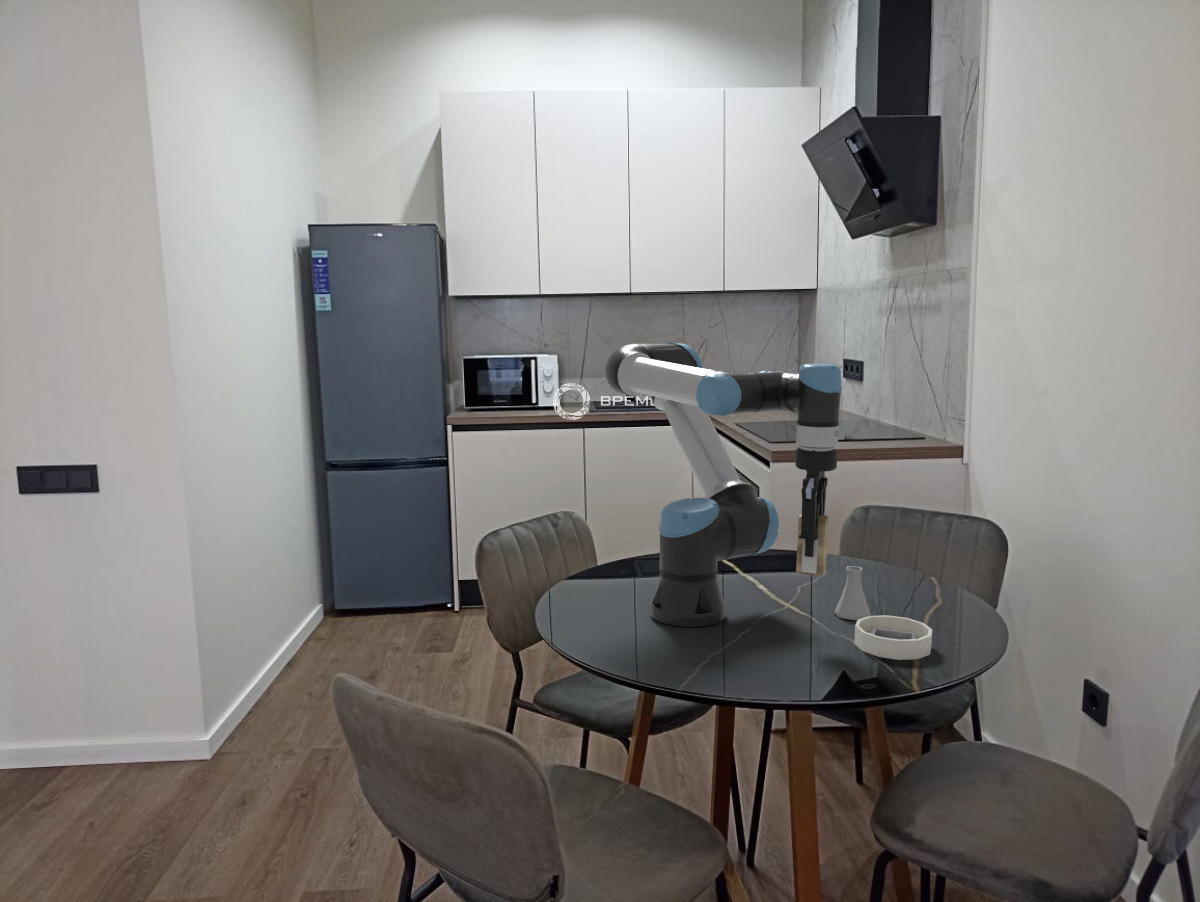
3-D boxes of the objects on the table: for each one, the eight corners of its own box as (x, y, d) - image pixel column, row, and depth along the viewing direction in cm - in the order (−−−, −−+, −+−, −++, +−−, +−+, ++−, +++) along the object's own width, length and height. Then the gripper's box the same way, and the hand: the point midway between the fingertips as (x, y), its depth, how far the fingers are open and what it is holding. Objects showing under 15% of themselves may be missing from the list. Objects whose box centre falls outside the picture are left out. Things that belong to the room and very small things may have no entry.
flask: (872, 622, 173) (874, 574, 171) (835, 620, 174) (837, 572, 173) (869, 611, 180) (871, 564, 178) (832, 608, 181) (834, 562, 180)
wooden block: (796, 573, 165) (798, 516, 163) (799, 568, 167) (801, 513, 165) (822, 576, 163) (825, 519, 161) (825, 572, 165) (828, 515, 163)
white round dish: (850, 652, 157) (851, 634, 156) (860, 629, 169) (861, 611, 168) (928, 664, 152) (929, 645, 151) (932, 639, 164) (933, 621, 163)
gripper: (830, 455, 152) (823, 584, 156) (844, 443, 167) (837, 561, 171) (787, 452, 155) (781, 578, 159) (804, 440, 170) (799, 556, 174)
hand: (810, 569), depth 165 cm, fingers closed on wooden block, 3 cm apart
